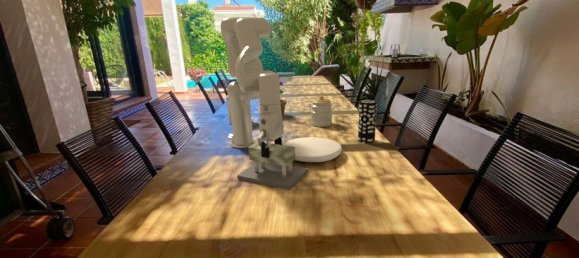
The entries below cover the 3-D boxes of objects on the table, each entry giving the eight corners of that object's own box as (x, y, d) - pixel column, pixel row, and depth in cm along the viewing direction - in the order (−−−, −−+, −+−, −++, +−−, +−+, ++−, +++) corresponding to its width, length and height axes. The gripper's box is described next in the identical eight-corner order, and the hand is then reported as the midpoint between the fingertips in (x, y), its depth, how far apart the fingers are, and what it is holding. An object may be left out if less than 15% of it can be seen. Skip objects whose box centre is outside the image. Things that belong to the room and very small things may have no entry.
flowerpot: (264, 118, 202) (261, 72, 194) (268, 113, 216) (266, 70, 207) (285, 118, 200) (283, 72, 191) (288, 113, 213) (287, 70, 205)
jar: (317, 120, 193) (317, 93, 188) (335, 123, 185) (336, 94, 181) (306, 125, 183) (306, 96, 178) (325, 128, 175) (325, 98, 170)
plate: (288, 134, 151) (343, 136, 146) (288, 147, 152) (342, 149, 147) (274, 147, 124) (340, 150, 119) (274, 163, 125) (340, 166, 120)
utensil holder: (232, 119, 202) (230, 93, 197) (254, 119, 200) (252, 93, 195) (225, 125, 188) (222, 97, 183) (248, 125, 186) (246, 97, 181)
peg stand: (237, 178, 114) (236, 162, 112) (260, 163, 128) (259, 149, 126) (289, 190, 104) (289, 172, 103) (308, 172, 118) (307, 156, 116)
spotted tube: (371, 144, 147) (374, 103, 141) (355, 141, 151) (356, 102, 145) (377, 139, 153) (379, 100, 148) (361, 137, 158) (362, 99, 152)
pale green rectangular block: (295, 159, 114) (294, 146, 113) (286, 166, 108) (286, 153, 107) (259, 153, 121) (258, 141, 120) (249, 159, 115) (248, 147, 114)
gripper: (266, 114, 100) (269, 162, 104) (290, 104, 114) (291, 146, 119) (247, 112, 103) (251, 159, 108) (273, 102, 118) (274, 144, 123)
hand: (272, 152), depth 114 cm, fingers open, 9 cm apart
